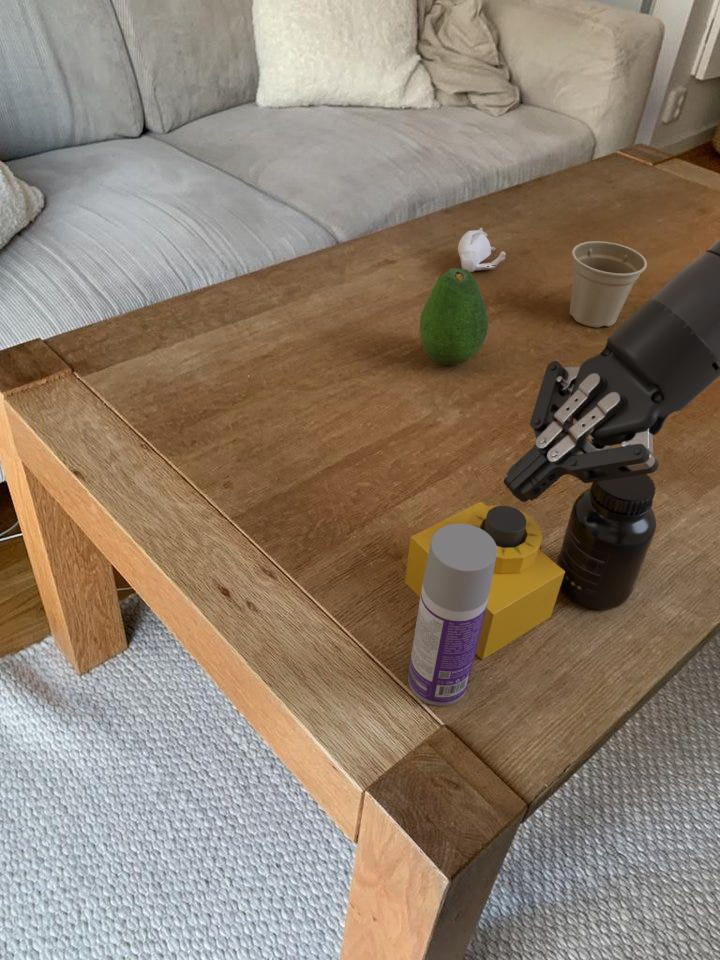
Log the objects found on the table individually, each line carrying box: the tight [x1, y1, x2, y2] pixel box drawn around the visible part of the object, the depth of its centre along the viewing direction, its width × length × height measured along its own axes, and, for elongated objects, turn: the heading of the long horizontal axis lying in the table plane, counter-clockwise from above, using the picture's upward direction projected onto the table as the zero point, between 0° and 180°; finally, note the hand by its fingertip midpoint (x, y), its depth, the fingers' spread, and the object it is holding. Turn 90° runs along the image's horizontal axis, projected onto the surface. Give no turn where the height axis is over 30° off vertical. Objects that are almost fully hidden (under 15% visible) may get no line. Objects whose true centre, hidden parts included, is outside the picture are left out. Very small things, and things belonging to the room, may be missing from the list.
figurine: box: [457, 227, 506, 273], centre depth 118 cm, size 6×6×12 cm
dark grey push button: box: [484, 505, 526, 548], centre depth 66 cm, size 3×3×2 cm
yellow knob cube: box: [404, 501, 565, 661], centre depth 68 cm, size 10×8×8 cm
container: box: [407, 524, 497, 707], centre depth 59 cm, size 5×5×15 cm
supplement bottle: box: [556, 474, 657, 611], centre depth 69 cm, size 7×7×12 cm
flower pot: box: [569, 240, 648, 329], centre depth 107 cm, size 9×9×9 cm
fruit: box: [419, 267, 489, 366], centre depth 95 cm, size 8×8×12 cm
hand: (513, 492), depth 64 cm, fingers closed
